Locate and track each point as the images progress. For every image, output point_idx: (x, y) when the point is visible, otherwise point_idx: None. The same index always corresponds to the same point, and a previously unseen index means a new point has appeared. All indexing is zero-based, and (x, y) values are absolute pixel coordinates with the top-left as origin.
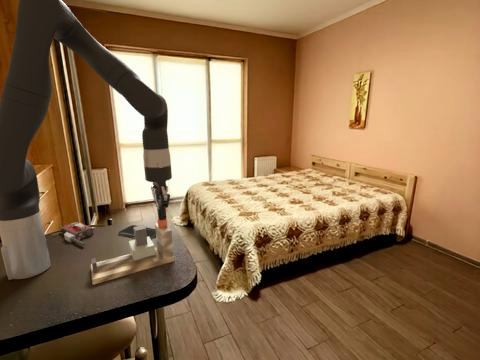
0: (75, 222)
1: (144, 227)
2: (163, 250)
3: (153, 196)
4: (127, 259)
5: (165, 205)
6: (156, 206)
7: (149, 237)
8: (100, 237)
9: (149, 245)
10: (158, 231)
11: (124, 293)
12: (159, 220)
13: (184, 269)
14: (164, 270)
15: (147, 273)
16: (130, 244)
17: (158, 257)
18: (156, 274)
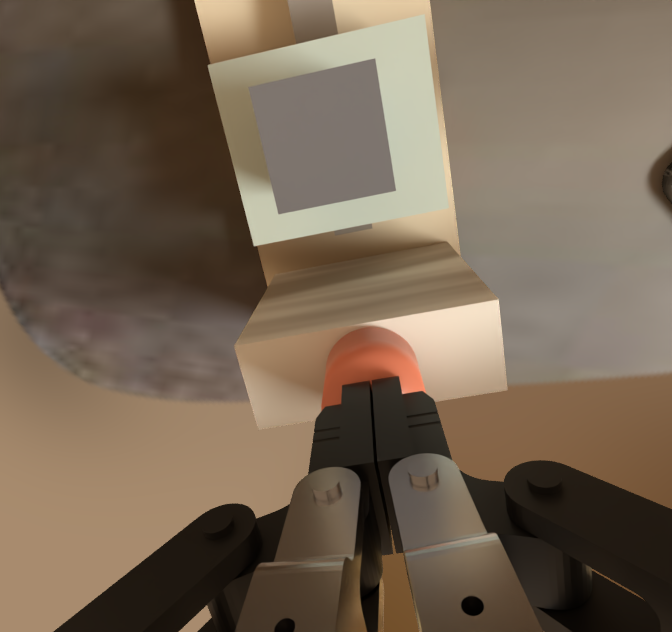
0: None
1: (313, 197)
2: (266, 293)
3: (510, 590)
4: (293, 22)
5: (212, 623)
6: (409, 466)
7: (421, 212)
8: None
9: (262, 208)
10: (356, 312)
11: (18, 29)
12: (347, 379)
13: (178, 362)
14: (197, 261)
15: (192, 163)
16: (340, 36)
17: (301, 243)
18: (167, 215)
